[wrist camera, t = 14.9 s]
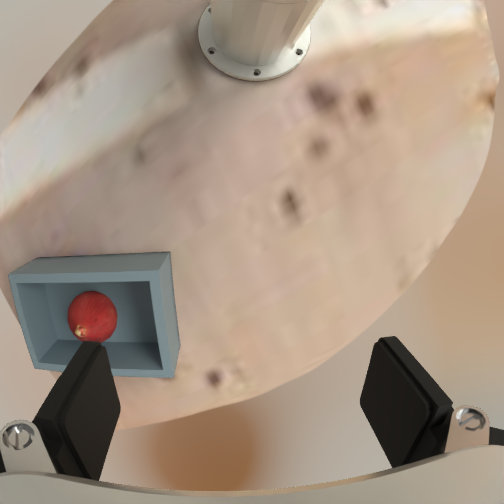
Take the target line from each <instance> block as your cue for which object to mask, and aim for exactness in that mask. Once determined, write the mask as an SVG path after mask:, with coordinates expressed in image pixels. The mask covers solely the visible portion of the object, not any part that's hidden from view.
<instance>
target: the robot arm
mask: <svg viewBox="0 0 504 504" xmlns="http://www.w3.org/2000/svg"><path fill="white" fill-rule="evenodd" d="M323 2H324V0H210V5H208V6H207V8H206V9H205V11H204V12H203V14H202V16H201V19H200V21H199V26H198V38H199V43H200V47H201V49H202V51H203V53H204V55H205V56H206V58H207V59H208V60H209V62H210V63H211V64H213V65H214V66H215V67H216V68H217V69H219V70H220V71H222V72H224V73H225V74H227V75H230V76H232V77H235V78H238V79H243V80H248V81H263V80H271V79H274V78H278V77H281V76H283V75H285V74H287V73H289V72H290V71H291V70H293V69H294V68H295V67H297V65H298V64H299V63H300V62H301V61H302V60H303V58H304V57H305V56H306V54H307V51H308V49H309V46H310V41H311V30H310V26H309V23H310V22H311V20H312V19H313V17H314V15H315V14H316V12H317V11H318V9H319V8H320V6H321V5H322V3H323ZM210 52H214V54H210ZM296 53H299V55H297V54H296ZM254 73H258V76H255V75H254ZM452 404H453V402H452V401H451V400H450V398H449V397H448V396H447V395H446V394H445V393H444V391H443V390H442V389H441V388H440V387H439V385H438V384H437V383H436V382H435V381H434V379H433V378H432V377H431V376H430V375H429V374H428V372H426V370H425V369H424V368H423V367H422V366H421V364H420V363H419V362H418V361H417V360H416V359H415V358H414V356H413V355H412V354H411V353H410V352H409V351H408V350H407V348H406V347H405V346H404V345H403V344H402V343H401V342H400V340H399V339H398V338H397V337H395V336H392V337H384V338H380V339H379V340H378V342H376V343H375V344H374V347H373V351H372V355H371V359H370V363H369V367H368V371H367V375H366V379H365V383H364V386H363V390H362V394H361V397H360V405H361V408H362V410H363V412H364V413H365V416H366V418H367V419H368V421H369V423H370V425H371V427H372V429H373V431H374V433H375V435H376V437H377V439H378V441H379V443H380V445H381V447H382V448H383V450H384V452H385V454H386V456H387V458H388V460H389V462H390V464H391V466H392V468H391V469H388V470H384V471H380V472H376V473H372V474H368V475H363V476H358V477H354V478H349V479H343V480H338V481H333V482H326V483H320V484H313V485H306V486H298V487H290V488H280V489H268V490H253V491H182V490H166V489H155V488H146V487H137V486H129V485H122V484H114V483H108V482H102V481H99V479H100V475H101V472H102V469H103V465H104V462H105V459H106V455H107V452H108V449H109V445H110V442H111V439H112V436H113V433H114V430H115V427H116V424H117V421H118V418H119V415H120V402H119V398H118V395H117V391H116V387H115V383H114V379H113V375H112V371H111V367H110V363H109V359H108V354H107V350H106V347H104V346H102V345H101V343H100V342H96V341H83V342H82V344H81V345H80V347H79V348H78V350H77V351H76V353H75V354H74V356H73V357H72V359H71V360H70V362H69V364H68V365H67V367H66V368H65V370H64V371H63V373H62V375H61V376H60V377H59V378H58V380H57V381H56V383H55V385H54V386H53V388H52V390H51V391H50V393H49V395H48V397H47V398H46V400H45V401H44V403H43V404H42V406H41V408H40V409H39V411H38V413H37V415H36V416H35V418H34V420H33V421H32V422H29V421H27V420H15V421H12V422H10V423H8V424H6V425H5V426H4V427H3V428H2V429H1V431H0V504H504V430H501V429H497V428H493V427H490V422H489V418H488V416H487V414H486V413H485V412H484V411H483V410H481V409H479V408H478V407H474V406H470V405H463V406H460V407H458V408H456V409H455V410H454V409H453V408H452Z"/></svg>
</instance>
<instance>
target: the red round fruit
mask: <svg viewBox="0 0 504 504" xmlns="http://www.w3.org/2000/svg"><path fill="white" fill-rule="evenodd" d="M117 317H118V315H117V311H116V307H115V305H114V304H113V302H112V301H111V299H110V298H109V297H107V296H106V295H105V294H103V293H100V292H97V291H85V292H83V293H81V294H80V295H78V296H76V297H75V298H74V299H73V301H72V302H71V304H70V306H69V308H68V315H67V321H68V324H69V328H70V330H71V331H72V333H73V335H74V336H75V337H76V338H77V339H79V340H80V341H82V342H83V341H96V342H100V343H102V342H104V341H105V340H107V339H109V338H110V337H111V336H112V334H113V332H114V331H115V329H116V326H117Z"/></svg>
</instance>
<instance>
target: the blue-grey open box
mask: <svg viewBox="0 0 504 504" xmlns="http://www.w3.org/2000/svg"><path fill="white" fill-rule="evenodd" d="M8 276H9V281H10V286H11V290H12V294H13V298H14V303H15V306H16V310H17V314H18V318H19V321H20V325H21V328H22V332H23V335H24V338H25V341H26V344H27V347H28V350H29V353H30V356H31V359H32V362H33V365H34V368H35V369H43V370H51V371H60V372H63V371H64V370H65V368H66V367H67V365H68V364H69V362H70V360H71V359H72V357H73V356H74V354H75V353H76V351H77V350H78V348H79V347H80V345H81V344H82V341H80V340H79V339H77V338H76V337H75V336H74V335H73V333H72V331H71V330H70V328H69V324H68V321H67V315H68V308H69V306H70V304H71V302H72V301H73V299H74V298H75V297H76V296H78V295H80V294H81V293H83V292H85V291H97V292H100V293H103V294H105V295H106V296H107V297H109V298H110V299H111V301H112V302H113V304H114V305H115V307H116V311H117V315H118V317H117V326H116V329H115V331H114V332H113V334H112V336H111V337H110V338H109V339H107V340H105V341H104V342H102V343H101V345H102V346H104V347H106V350H107V354H108V359H109V363H110V367H111V371H112V375H113V376H127V377H174V374H175V369H176V364H177V359H178V354H179V349H180V339H179V331H178V323H177V315H176V306H175V297H174V288H173V278H172V267H171V256H170V252H152V253H129V254H107V255H85V256H64V257H42V258H36V259H34V260H33V261H31V262H29V263H27V264H25V265H24V266H22V267H20V268H18V269H17V270H15V271H13V272H11V273H10V274H8Z"/></svg>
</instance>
